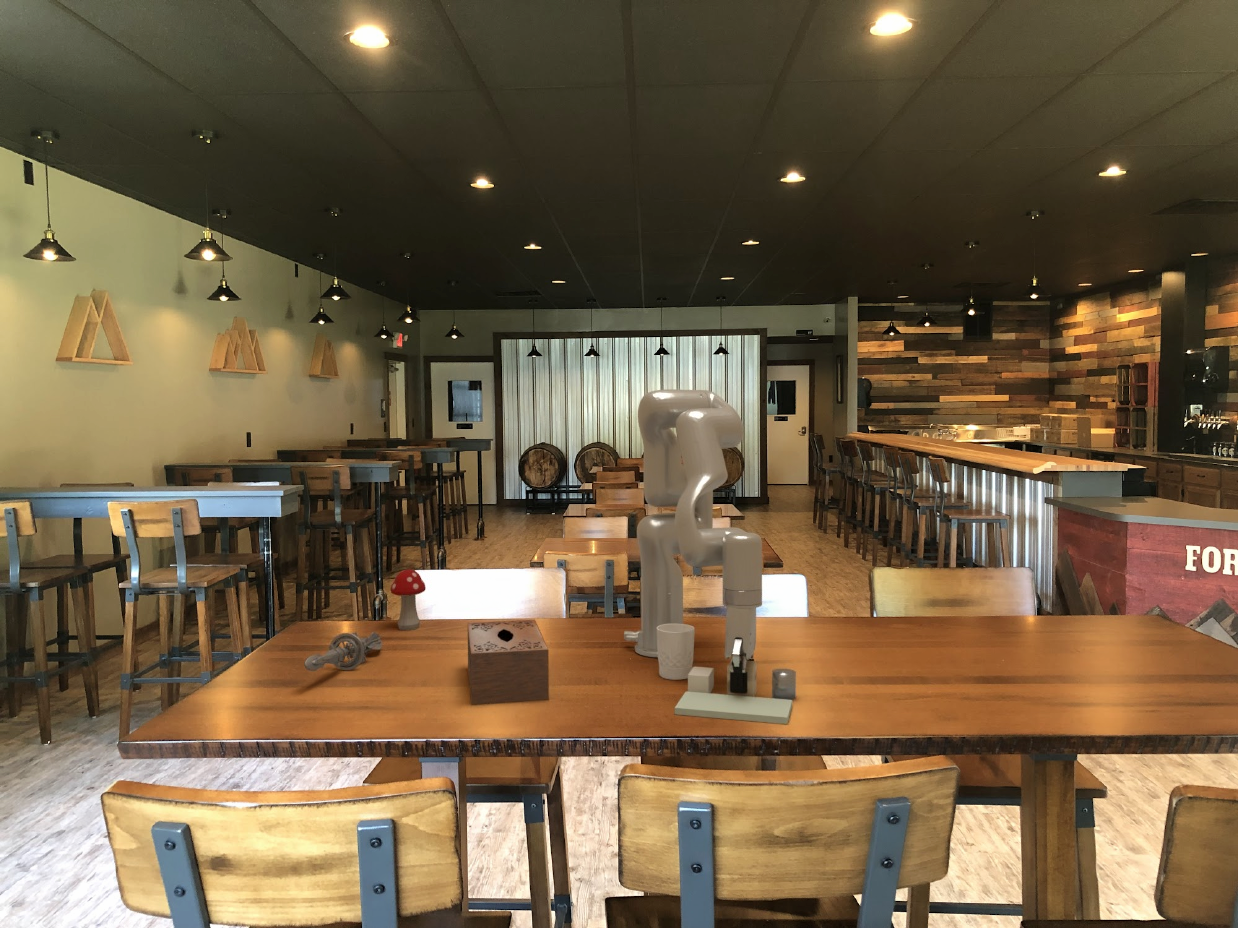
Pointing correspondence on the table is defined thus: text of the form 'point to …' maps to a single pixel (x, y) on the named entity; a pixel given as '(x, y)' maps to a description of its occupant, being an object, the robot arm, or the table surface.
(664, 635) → the white cup
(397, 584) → the decorative mushroom
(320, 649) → the table surface
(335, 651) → the spaceship
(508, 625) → the tissue box cover
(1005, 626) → the table surface
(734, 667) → the robot arm
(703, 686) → the white block
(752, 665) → the maple block
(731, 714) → the sage board
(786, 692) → the metal cylinder
